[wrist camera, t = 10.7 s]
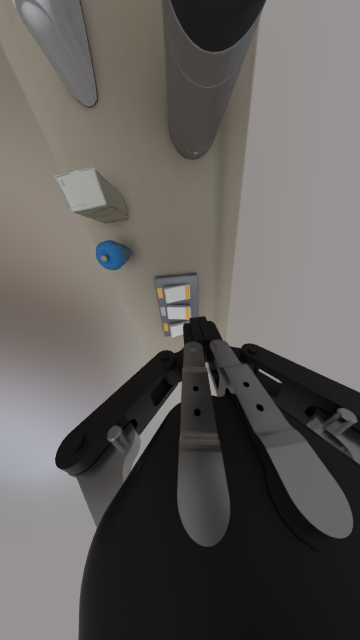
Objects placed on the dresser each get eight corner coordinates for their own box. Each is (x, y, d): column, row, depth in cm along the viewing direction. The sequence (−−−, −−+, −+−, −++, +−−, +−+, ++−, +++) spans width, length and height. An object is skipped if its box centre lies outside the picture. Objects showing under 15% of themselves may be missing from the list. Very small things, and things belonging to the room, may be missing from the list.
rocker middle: (168, 305, 39) (166, 307, 38) (190, 305, 38) (190, 307, 37) (169, 316, 41) (168, 319, 40) (191, 317, 40) (190, 319, 39)
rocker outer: (169, 325, 41) (170, 327, 40) (189, 319, 43) (191, 322, 41) (170, 335, 43) (172, 337, 42) (190, 329, 45) (191, 332, 43)
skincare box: (105, 223, 31) (70, 213, 21) (95, 199, 29) (51, 175, 19) (129, 218, 31) (107, 206, 21) (122, 193, 29) (93, 165, 18)
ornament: (133, 238, 33) (107, 235, 20) (141, 259, 36) (122, 269, 23) (115, 244, 34) (78, 244, 21) (124, 264, 36) (96, 276, 23)
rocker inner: (163, 287, 35) (164, 289, 33) (187, 283, 36) (189, 284, 35) (165, 301, 37) (167, 303, 35) (188, 296, 38) (190, 298, 37)
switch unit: (155, 276, 38) (153, 279, 35) (196, 273, 38) (198, 275, 35) (165, 331, 48) (164, 337, 45) (197, 328, 48) (198, 334, 45)
